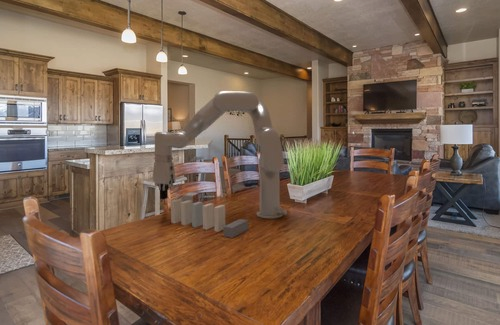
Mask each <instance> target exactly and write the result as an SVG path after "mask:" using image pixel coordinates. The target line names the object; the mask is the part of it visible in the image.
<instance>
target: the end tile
mask: <svg viewBox="0 0 500 325" xmlns="http://www.w3.org/2000/svg"><path fill="white" fill-rule="evenodd" d="M181 202H182V198H177V199H173V200H170V219H171V220H170V221H171V222H170V223H171V224H177V223H180V222H181Z"/></svg>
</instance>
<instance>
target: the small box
mask: <svg viewBox="0 0 500 325" xmlns="http://www.w3.org/2000/svg"><path fill="white" fill-rule="evenodd" d="M181 197H182V198H181V199H182V202H184V201H188V200H190V201H192V204H193V203H197V202H200V198H199V197H200V196H199V192H187V193H185V194H183V195H181Z"/></svg>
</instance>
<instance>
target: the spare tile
mask: <svg viewBox="0 0 500 325" xmlns="http://www.w3.org/2000/svg"><path fill="white" fill-rule="evenodd" d="M203 205H204V203H203V201H199V202H197V203H193V204H192V223H191V227H192V228H198V227H201V226H203Z"/></svg>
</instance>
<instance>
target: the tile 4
mask: <svg viewBox="0 0 500 325" xmlns="http://www.w3.org/2000/svg"><path fill="white" fill-rule="evenodd" d="M214 207H215V205H214V203H210V202H209V203H206V204H203V225H202V230H206V231H207V230H210V229H212V228H214Z"/></svg>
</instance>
